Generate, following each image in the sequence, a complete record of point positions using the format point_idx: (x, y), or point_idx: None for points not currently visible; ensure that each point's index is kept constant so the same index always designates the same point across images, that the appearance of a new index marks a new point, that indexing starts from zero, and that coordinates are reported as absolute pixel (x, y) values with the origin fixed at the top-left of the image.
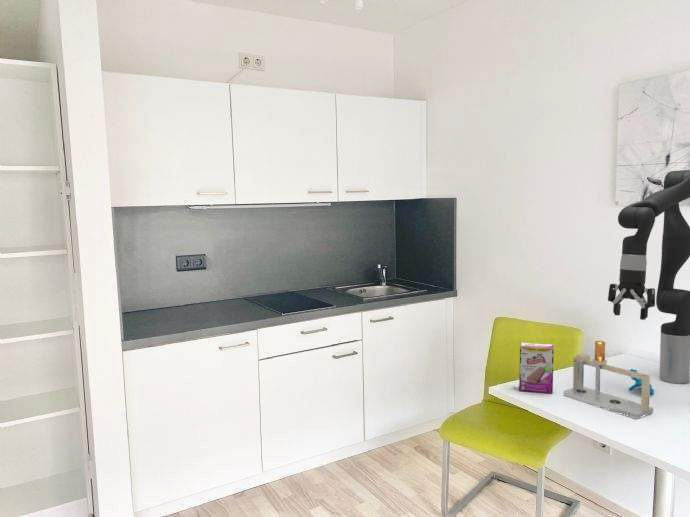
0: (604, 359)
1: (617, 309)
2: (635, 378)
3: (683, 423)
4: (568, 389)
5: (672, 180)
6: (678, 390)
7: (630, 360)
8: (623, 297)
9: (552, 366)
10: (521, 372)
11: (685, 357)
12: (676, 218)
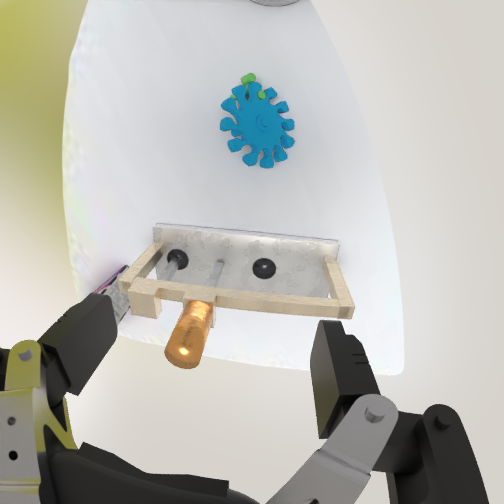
0: (211, 315)
1: (94, 357)
2: (256, 157)
3: (394, 253)
4: (156, 269)
5: None
6: (320, 45)
7: None
8: (46, 430)
9: (118, 323)
10: None
11: None
12: None
